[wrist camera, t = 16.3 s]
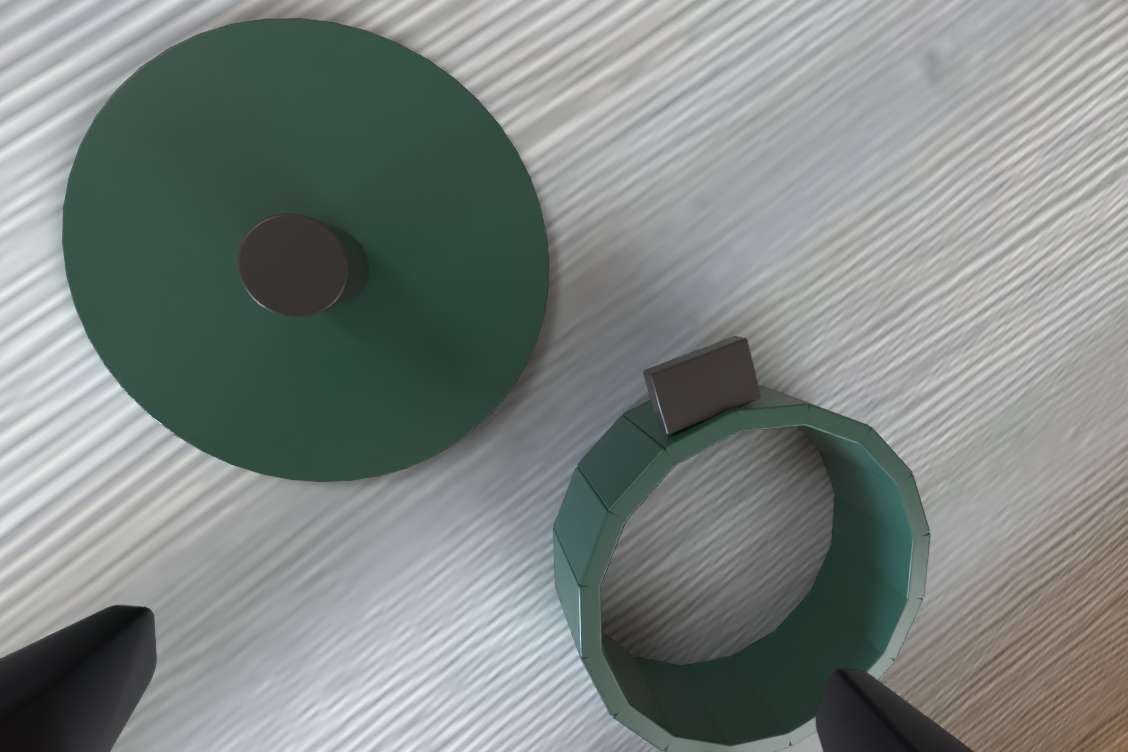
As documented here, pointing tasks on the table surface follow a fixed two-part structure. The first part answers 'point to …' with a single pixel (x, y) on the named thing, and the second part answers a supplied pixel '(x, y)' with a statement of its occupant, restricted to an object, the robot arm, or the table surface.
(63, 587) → the table surface
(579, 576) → the pot
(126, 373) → the pot lid
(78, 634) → the robot arm
